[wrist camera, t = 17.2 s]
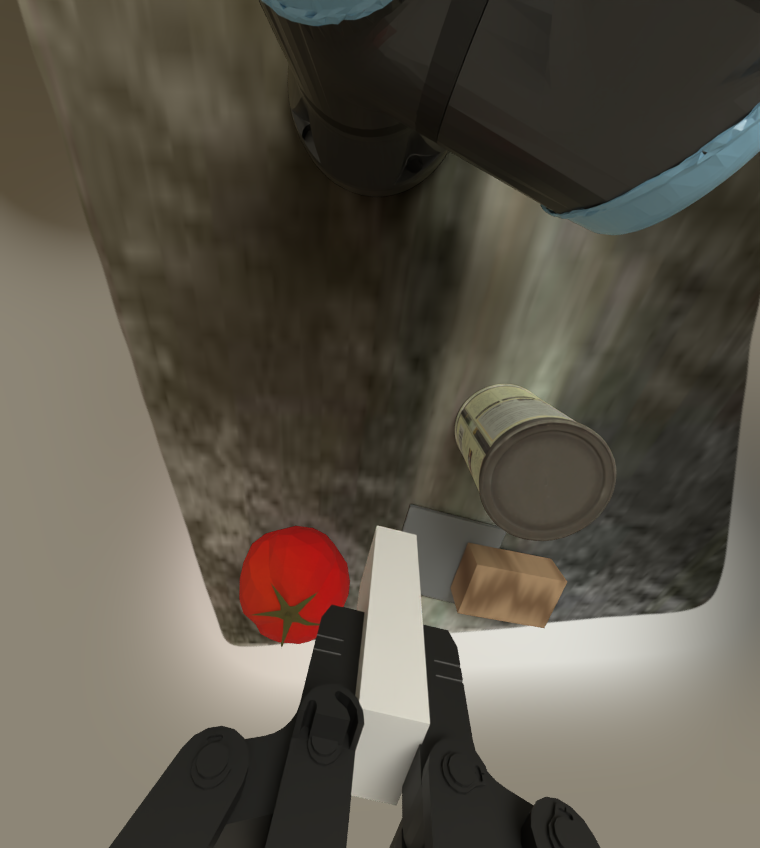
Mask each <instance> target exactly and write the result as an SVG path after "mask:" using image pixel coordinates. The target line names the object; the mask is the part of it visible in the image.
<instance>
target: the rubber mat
mask: <svg viewBox="0 0 760 848" xmlns="http://www.w3.org/2000/svg"><path fill="white" fill-rule="evenodd" d="M402 532H406V533H410V534H415V535H416V536H417V550H418V564H419V577H420V591H421V595H423V596H427V597H431V598H435V599H439V600H443V601H447V602H451V603H455V602H454V598H453V595H452V592H451V585H452V583H453V580H454V578H455V575H456V572H457V570H458V567H459V565H460V562H461V559H462V557H463V554H464V552H465V549H466V546H467V544H468V543H473V544H478V545H483V546H488V547H493V548H498V549H499V548H500V546H501V543H502V541H503V539H504V536H505V534H506V532H505V531H504V530H502V529H501V528H500V527H498V526H494V525H490V524H486V523H483V522H479V521H475V520H471V519H467V518H463V517H459V516H455V515H451V514H448V513H444V512H440V511H436V510H432V509H428V508H424V507H420V506H416V505H412V504H410V507H409V510H408V513H407V516H406V519H405V523H404V526H403V529H402Z"/></svg>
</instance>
